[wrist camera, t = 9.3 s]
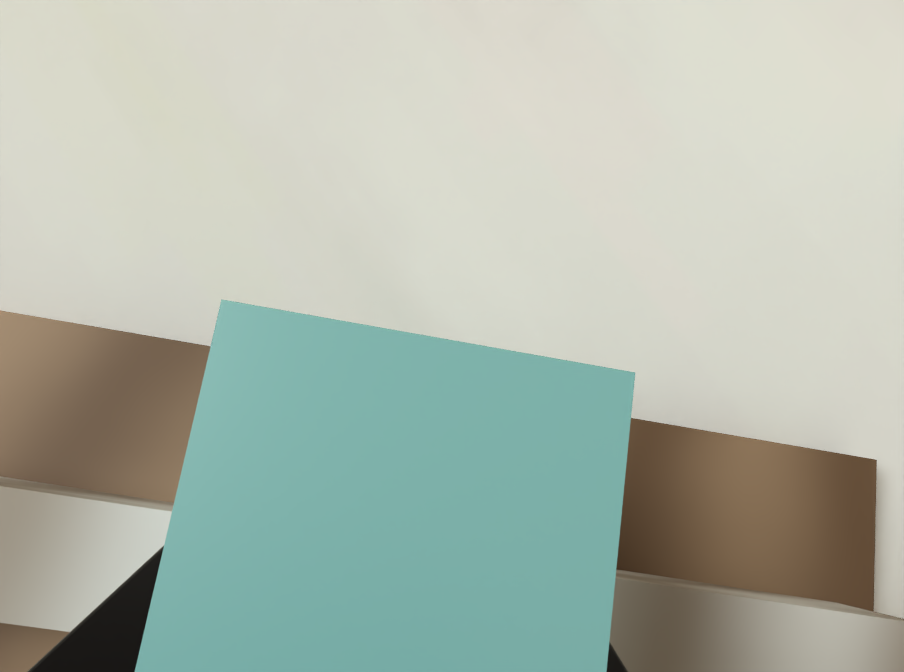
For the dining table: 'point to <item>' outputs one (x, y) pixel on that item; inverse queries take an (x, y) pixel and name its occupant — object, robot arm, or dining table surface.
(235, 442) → the teal rectangular block
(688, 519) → the rail board
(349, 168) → the dining table surface
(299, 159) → the dining table surface
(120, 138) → the dining table surface
